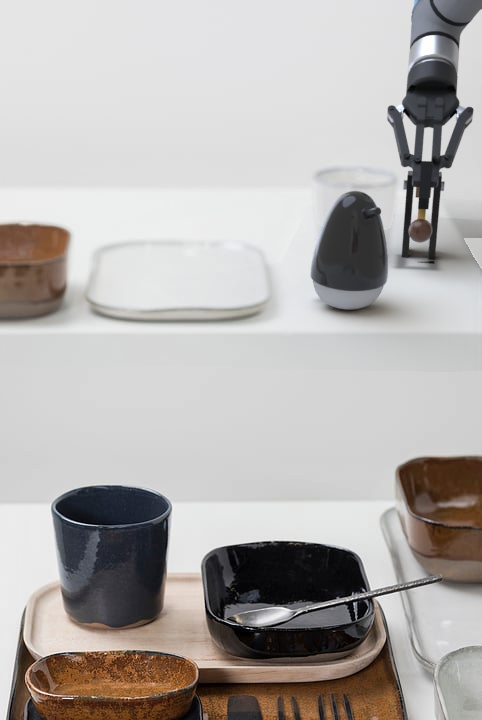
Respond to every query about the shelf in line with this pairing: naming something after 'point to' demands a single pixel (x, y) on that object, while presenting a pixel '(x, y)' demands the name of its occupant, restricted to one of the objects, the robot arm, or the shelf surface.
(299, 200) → the shelf surface
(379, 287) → the pump dispenser
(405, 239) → the bracket
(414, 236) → the ball knob lever
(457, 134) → the robot arm
